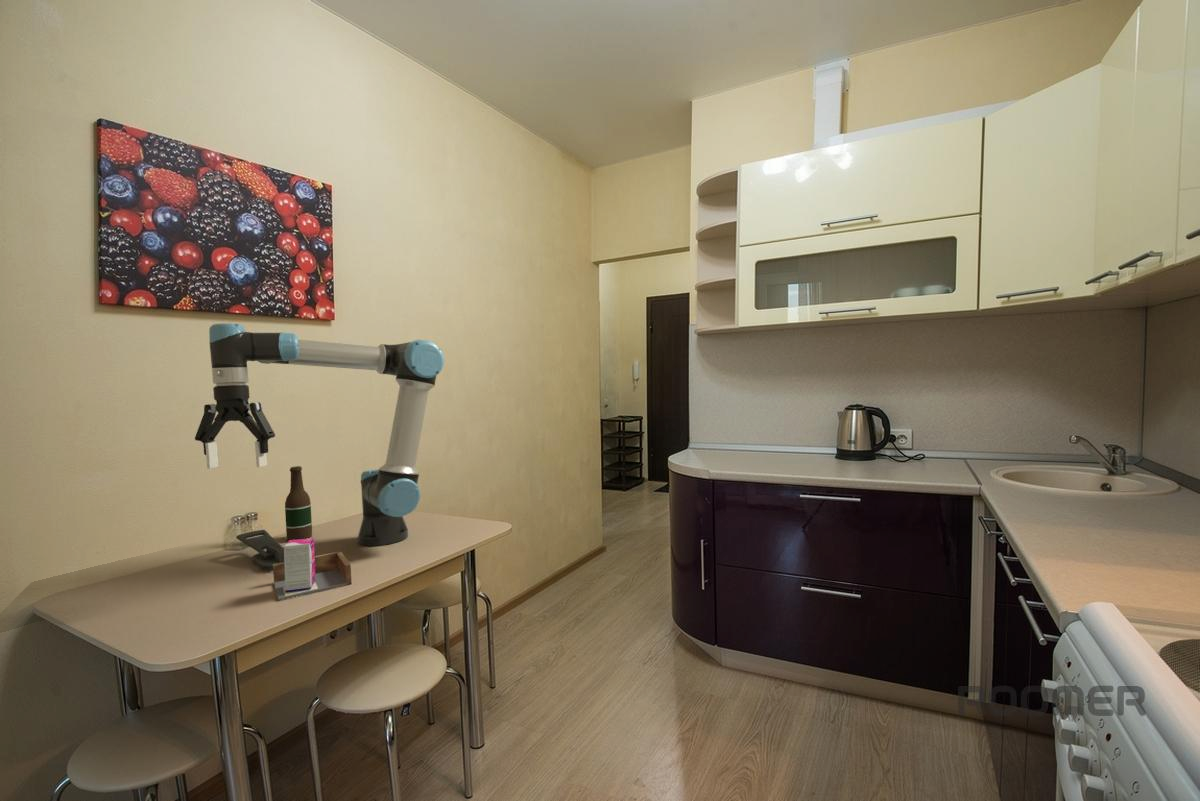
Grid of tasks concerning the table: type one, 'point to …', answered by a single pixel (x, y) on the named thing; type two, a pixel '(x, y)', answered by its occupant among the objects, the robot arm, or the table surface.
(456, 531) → the table surface
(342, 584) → the grey mat
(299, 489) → the beer bottle
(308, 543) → the supplement box
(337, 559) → the walnut corner walls
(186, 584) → the table surface
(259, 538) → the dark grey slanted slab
